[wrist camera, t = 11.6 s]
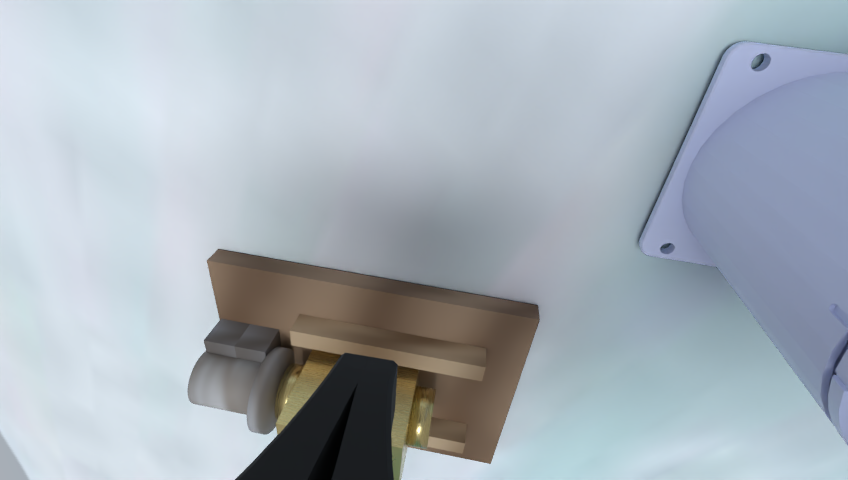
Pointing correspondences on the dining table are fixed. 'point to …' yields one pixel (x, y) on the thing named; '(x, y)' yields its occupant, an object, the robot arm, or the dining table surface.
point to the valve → (409, 405)
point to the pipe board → (363, 343)
